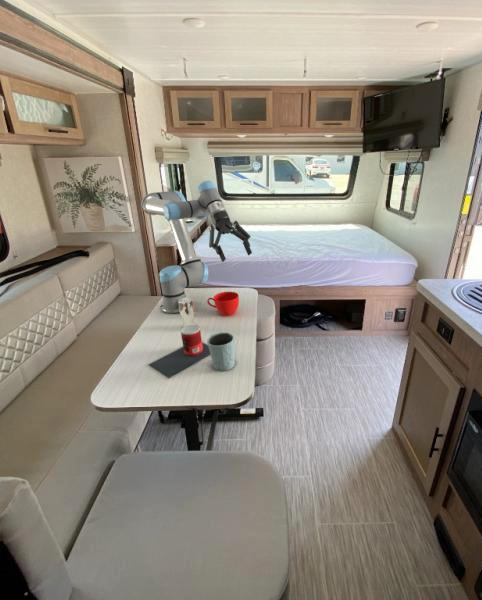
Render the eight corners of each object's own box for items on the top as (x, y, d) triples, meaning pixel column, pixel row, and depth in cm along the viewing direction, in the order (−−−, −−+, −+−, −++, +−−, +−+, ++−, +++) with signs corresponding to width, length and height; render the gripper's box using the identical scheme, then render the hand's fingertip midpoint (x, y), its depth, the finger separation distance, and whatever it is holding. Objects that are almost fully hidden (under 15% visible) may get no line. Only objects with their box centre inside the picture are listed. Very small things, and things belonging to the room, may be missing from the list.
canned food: (206, 347, 141) (202, 325, 136) (197, 357, 134) (193, 334, 129) (190, 345, 143) (186, 323, 138) (181, 355, 136) (176, 332, 131)
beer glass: (189, 323, 163) (185, 296, 157) (199, 326, 160) (195, 298, 154) (179, 329, 158) (174, 301, 152) (190, 332, 155) (185, 304, 149)
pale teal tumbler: (241, 361, 130) (238, 335, 126) (225, 375, 122) (222, 348, 118) (221, 355, 135) (218, 330, 130) (205, 368, 127) (201, 341, 123)
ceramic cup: (212, 308, 180) (210, 291, 176) (242, 308, 178) (240, 291, 174) (205, 318, 168) (203, 301, 164) (237, 318, 166) (235, 301, 162)
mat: (196, 340, 147) (196, 339, 147) (217, 350, 139) (217, 349, 139) (149, 365, 131) (149, 364, 131) (168, 377, 122) (168, 377, 122)
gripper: (195, 213, 133) (215, 259, 131) (245, 206, 147) (264, 247, 145) (190, 222, 139) (209, 266, 137) (238, 215, 153) (256, 255, 151)
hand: (237, 257), depth 141 cm, fingers open, 13 cm apart
